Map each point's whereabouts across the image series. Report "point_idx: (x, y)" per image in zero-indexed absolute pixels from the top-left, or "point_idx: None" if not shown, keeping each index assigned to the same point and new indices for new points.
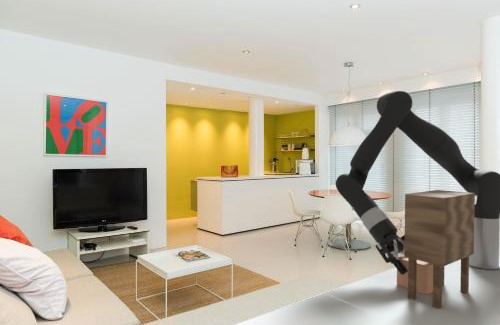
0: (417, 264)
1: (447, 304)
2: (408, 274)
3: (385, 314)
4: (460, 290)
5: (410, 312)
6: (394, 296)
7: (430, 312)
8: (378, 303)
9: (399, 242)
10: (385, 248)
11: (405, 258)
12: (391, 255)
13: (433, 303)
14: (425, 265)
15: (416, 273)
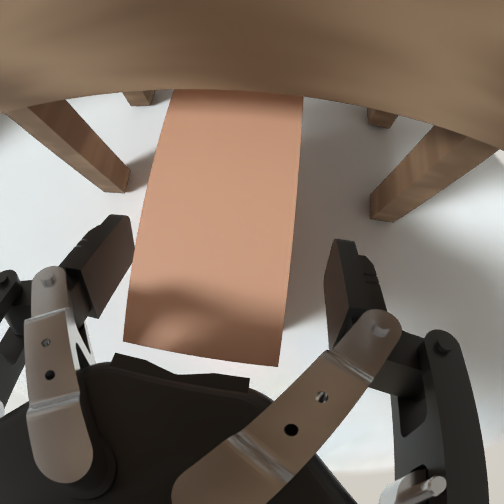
0: (297, 160)
1: (316, 100)
2: (451, 181)
3: None
4: (148, 102)
5: (473, 177)
6: (413, 275)
7: (425, 129)
8: (497, 284)
9: (94, 437)
10: (474, 439)
11: (230, 297)
12: (441, 359)
13: (393, 119)
14: (302, 100)
15: (423, 139)
